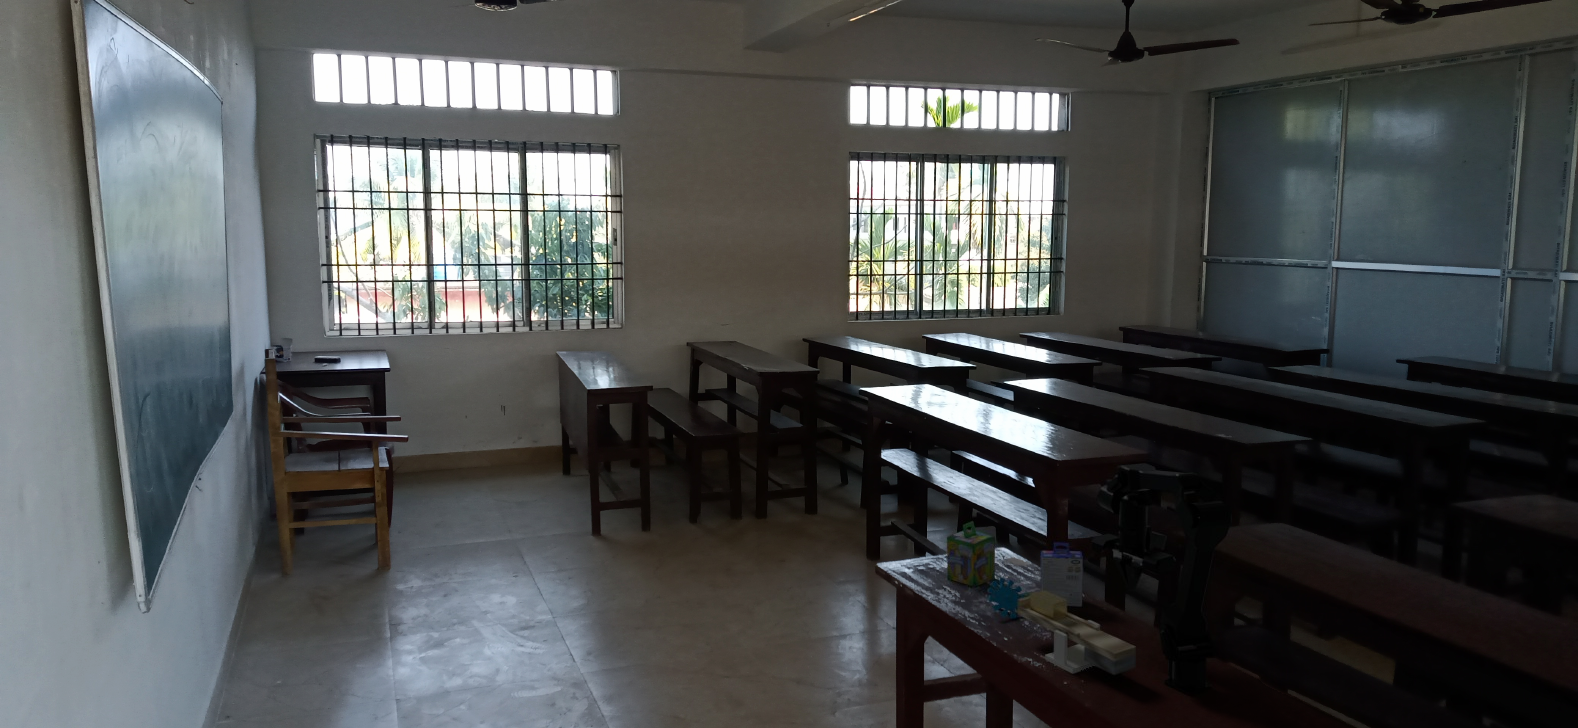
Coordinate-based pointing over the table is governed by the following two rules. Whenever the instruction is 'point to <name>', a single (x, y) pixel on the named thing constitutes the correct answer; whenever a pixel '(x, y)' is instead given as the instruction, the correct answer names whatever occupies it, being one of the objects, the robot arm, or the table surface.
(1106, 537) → the robot arm
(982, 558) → the chalk box
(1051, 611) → the beige rectangular block
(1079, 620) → the seesaw beam
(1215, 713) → the table surface
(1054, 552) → the ink cartridge box
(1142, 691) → the table surface
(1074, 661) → the pivot stand
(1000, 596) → the gear
